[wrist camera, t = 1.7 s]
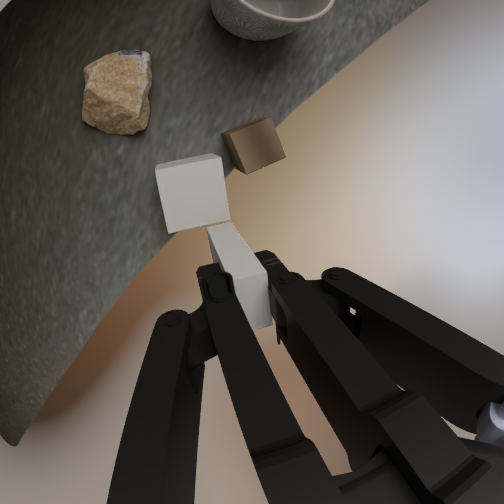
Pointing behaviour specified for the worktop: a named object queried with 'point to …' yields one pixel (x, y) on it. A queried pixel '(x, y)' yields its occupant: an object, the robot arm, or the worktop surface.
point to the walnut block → (254, 145)
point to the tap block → (192, 192)
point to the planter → (267, 16)
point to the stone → (118, 92)
